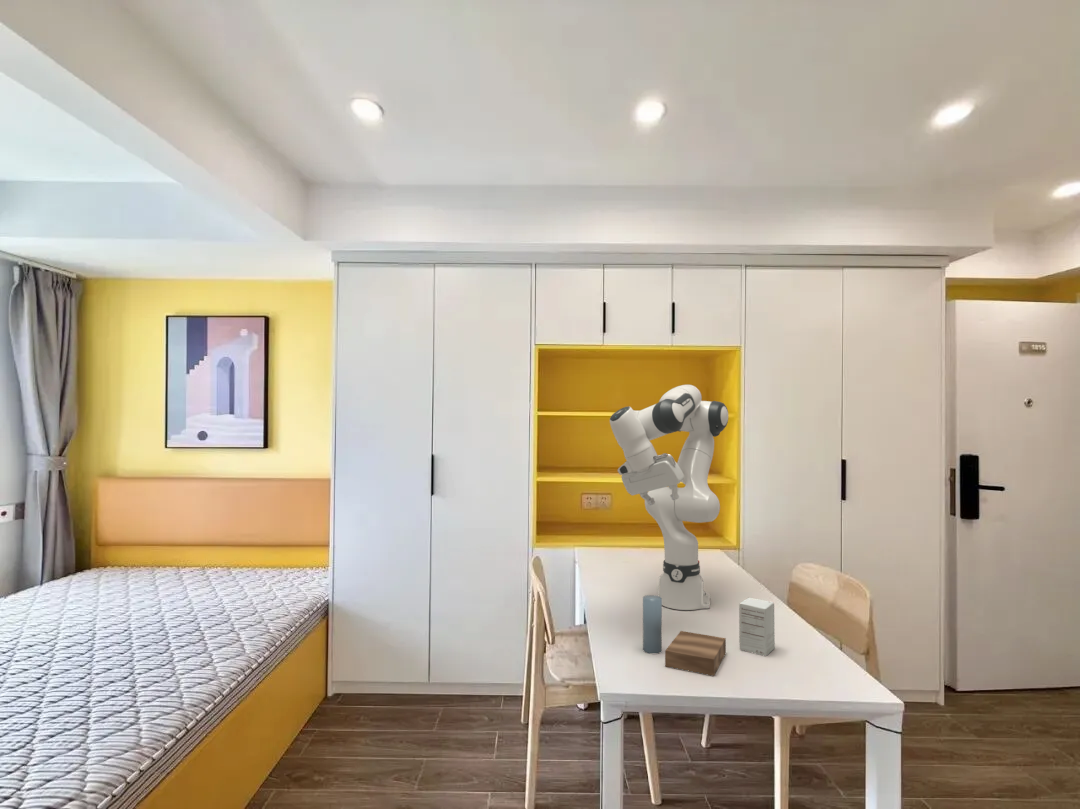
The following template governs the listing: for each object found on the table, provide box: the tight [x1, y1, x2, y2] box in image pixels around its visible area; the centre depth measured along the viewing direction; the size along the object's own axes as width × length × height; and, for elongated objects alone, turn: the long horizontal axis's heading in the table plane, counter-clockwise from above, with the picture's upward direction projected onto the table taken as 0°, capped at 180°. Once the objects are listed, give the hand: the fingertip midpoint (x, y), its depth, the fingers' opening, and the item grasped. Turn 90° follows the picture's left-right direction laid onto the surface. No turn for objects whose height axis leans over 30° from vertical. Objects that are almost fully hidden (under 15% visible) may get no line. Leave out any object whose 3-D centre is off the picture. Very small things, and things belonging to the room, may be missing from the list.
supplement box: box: [738, 597, 776, 657], centre depth 164 cm, size 7×7×13 cm
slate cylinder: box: [642, 594, 663, 654], centre depth 163 cm, size 5×5×14 cm
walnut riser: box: [664, 630, 727, 677], centre depth 157 cm, size 16×12×4 cm
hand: (664, 501), depth 178 cm, fingers open, 8 cm apart
